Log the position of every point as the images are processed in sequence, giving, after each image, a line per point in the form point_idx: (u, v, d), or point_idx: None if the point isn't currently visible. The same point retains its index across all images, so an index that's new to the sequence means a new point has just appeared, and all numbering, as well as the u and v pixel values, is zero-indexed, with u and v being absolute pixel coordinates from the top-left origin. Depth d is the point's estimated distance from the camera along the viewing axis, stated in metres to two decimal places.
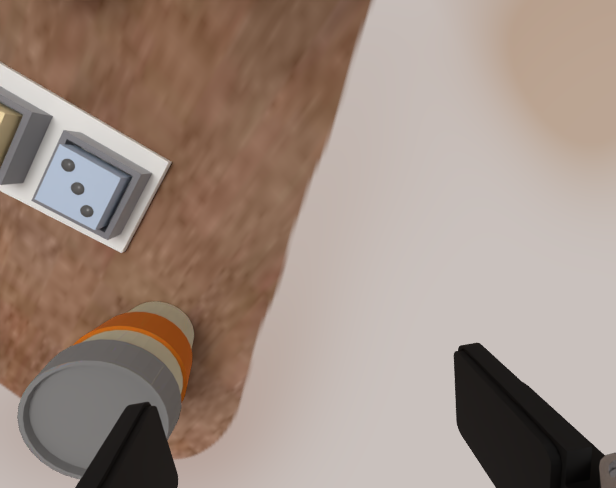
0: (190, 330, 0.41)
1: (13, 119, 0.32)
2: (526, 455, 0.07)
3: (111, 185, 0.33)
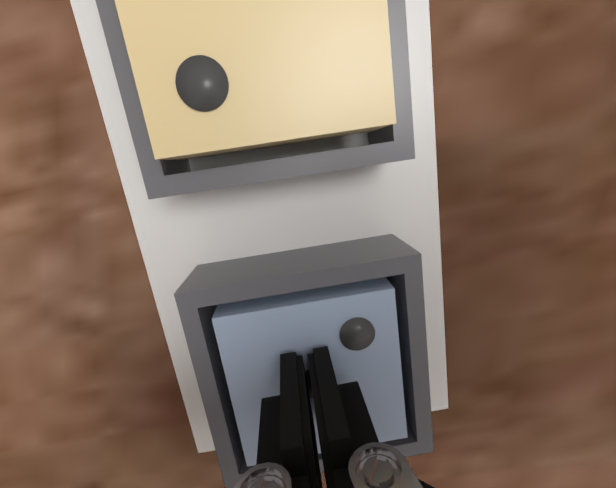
0: None
1: (367, 130, 0.10)
2: None
3: (377, 432, 0.12)
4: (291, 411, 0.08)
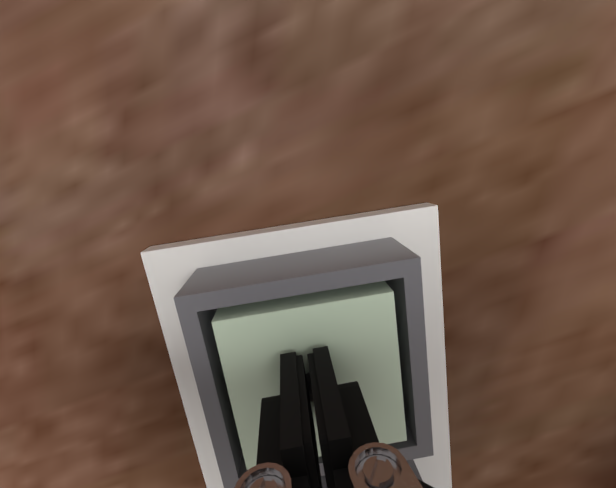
0: None
1: None
2: None
3: None
4: (291, 411, 0.08)
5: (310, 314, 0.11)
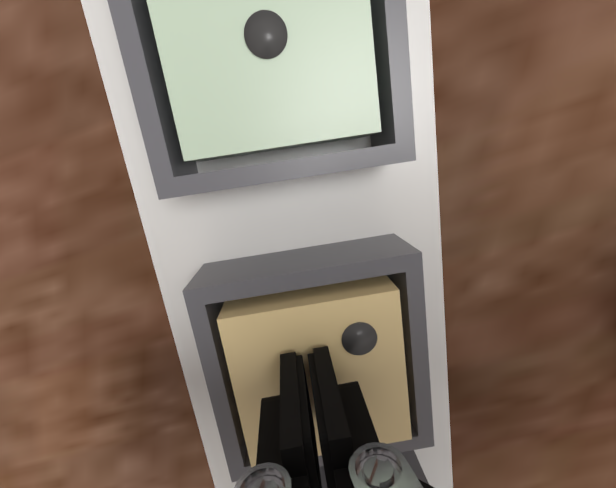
0: None
1: None
2: None
3: None
4: (291, 411, 0.08)
5: None
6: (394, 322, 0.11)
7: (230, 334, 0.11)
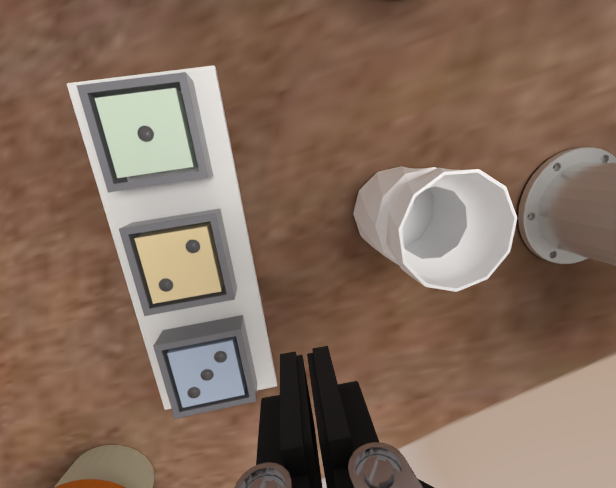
0: None
1: None
2: None
3: (232, 393, 0.33)
4: (291, 411, 0.08)
5: (139, 97, 0.26)
6: (206, 239, 0.29)
7: (140, 244, 0.28)
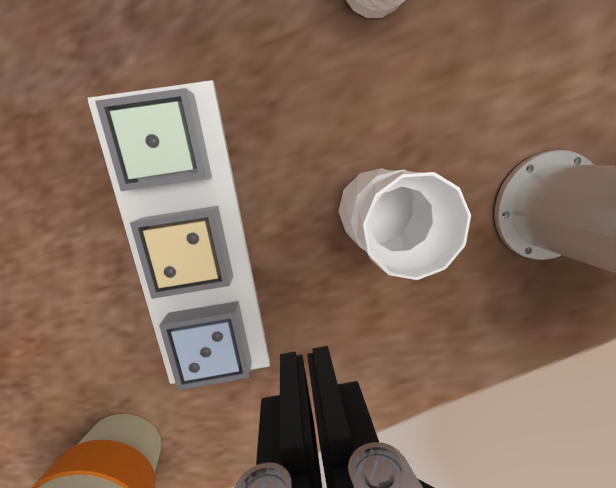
0: None
1: None
2: None
3: (228, 369, 0.37)
4: (291, 411, 0.08)
5: (146, 109, 0.30)
6: (204, 232, 0.33)
7: (147, 236, 0.33)
